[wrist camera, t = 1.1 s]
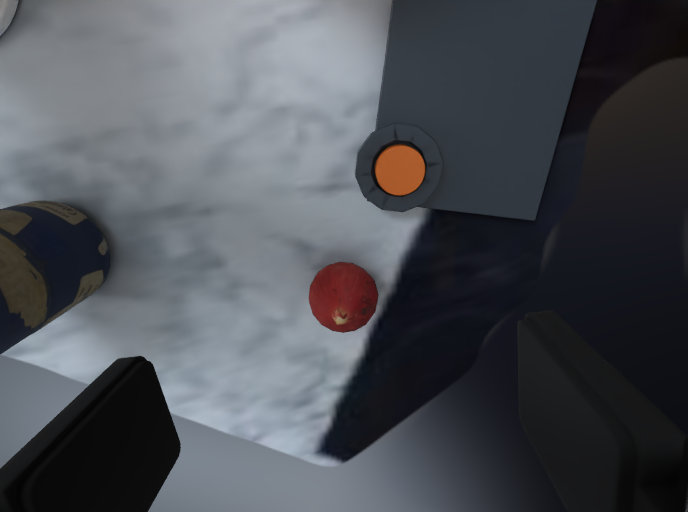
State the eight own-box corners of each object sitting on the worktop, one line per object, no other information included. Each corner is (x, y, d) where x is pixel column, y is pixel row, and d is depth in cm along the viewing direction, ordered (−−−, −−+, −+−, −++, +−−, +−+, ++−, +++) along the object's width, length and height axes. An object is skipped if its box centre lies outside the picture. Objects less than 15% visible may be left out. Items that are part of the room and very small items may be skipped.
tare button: (372, 189, 30) (372, 192, 29) (378, 141, 29) (379, 142, 28) (417, 194, 30) (420, 198, 29) (425, 147, 29) (429, 148, 28)
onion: (380, 255, 35) (386, 291, 28) (370, 311, 37) (374, 359, 30) (317, 246, 35) (306, 280, 28) (310, 303, 37) (299, 349, 30)
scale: (351, 198, 34) (351, 206, 30) (378, -21, 28) (381, -40, 25) (524, 218, 34) (543, 228, 30) (583, 5, 29) (612, -11, 25)
